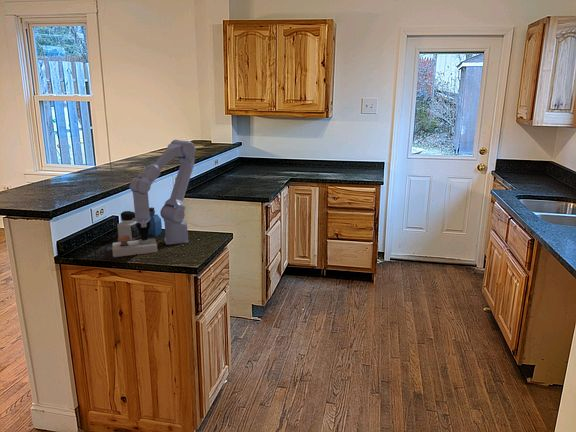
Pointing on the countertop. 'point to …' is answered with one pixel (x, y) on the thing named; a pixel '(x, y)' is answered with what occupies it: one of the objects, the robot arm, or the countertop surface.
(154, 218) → the perfume bottle
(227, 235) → the countertop surface
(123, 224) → the medicine bottle
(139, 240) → the grey button
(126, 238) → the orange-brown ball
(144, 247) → the panel
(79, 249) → the countertop surface
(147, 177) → the robot arm
